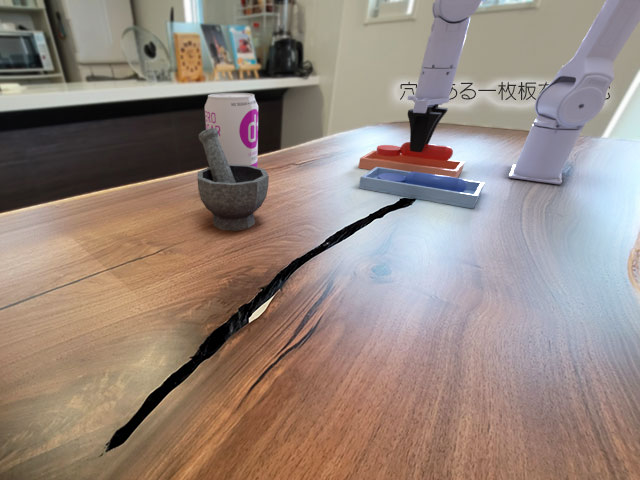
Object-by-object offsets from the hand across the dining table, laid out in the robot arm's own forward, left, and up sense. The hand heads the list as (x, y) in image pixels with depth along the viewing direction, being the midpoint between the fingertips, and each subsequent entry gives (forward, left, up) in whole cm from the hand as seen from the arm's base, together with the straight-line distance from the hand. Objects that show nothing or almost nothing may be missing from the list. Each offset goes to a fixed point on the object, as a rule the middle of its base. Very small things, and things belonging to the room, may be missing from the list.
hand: (417, 149), depth 71 cm
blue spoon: (+13, +4, -3) cm, 14 cm away
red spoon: (0, -1, -1) cm, 2 cm away
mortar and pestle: (+42, -15, -4) cm, 45 cm away
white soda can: (+32, -22, -4) cm, 39 cm away
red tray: (0, -1, -4) cm, 4 cm away
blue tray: (+13, +4, -4) cm, 14 cm away
